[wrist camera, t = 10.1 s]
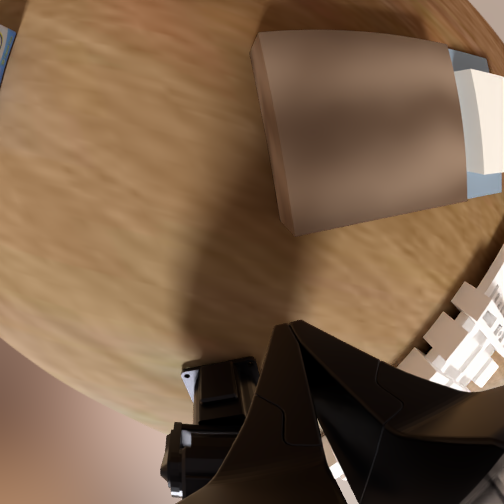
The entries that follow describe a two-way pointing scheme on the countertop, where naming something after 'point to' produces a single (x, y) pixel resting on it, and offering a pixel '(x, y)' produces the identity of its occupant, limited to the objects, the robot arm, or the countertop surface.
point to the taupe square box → (358, 126)
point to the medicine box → (5, 46)
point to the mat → (475, 181)
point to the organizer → (458, 342)
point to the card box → (482, 119)
